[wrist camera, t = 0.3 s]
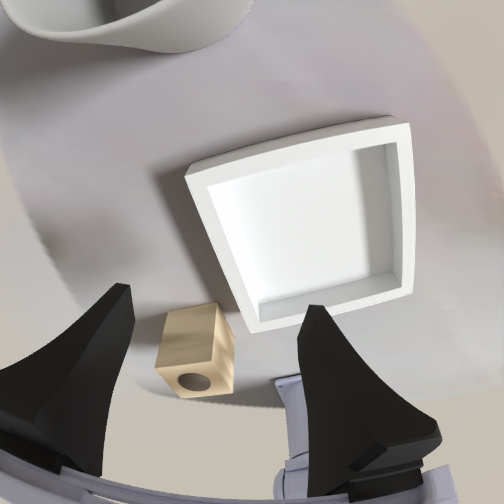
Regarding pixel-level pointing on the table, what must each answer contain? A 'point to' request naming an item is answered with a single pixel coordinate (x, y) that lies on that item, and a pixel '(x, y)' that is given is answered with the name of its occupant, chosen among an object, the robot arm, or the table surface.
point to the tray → (312, 219)
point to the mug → (130, 21)
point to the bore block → (197, 352)
